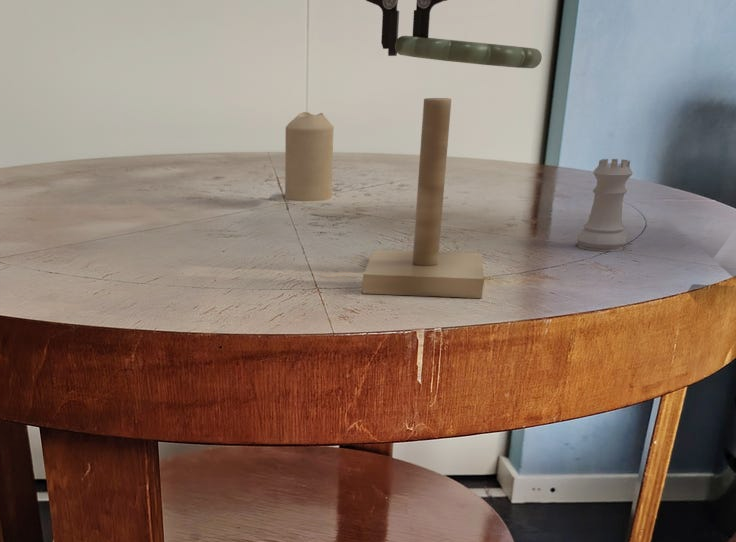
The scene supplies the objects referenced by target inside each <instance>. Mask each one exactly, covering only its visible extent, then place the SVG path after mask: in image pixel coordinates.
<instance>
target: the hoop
mask: <svg viewBox="0 0 736 542" xmlns="http://www.w3.org/2000/svg"><path fill="white" fill-rule="evenodd" d="M412 36H413V35H401V36H398V39H397V40H396V43H395V50H396V52H397V55H399V56H403V57H409V58H410V57H412V58H417V59H425V60H433V61H434V60H435V61H443V62H452V63H463V64H473V65H482V66H493V67H505V68H517V69H535V68H537V67H538V66H539V65H540V64H541V62H542V59H543V57H542V53H541V50H539V49H538V48H533V47H524V46H514V45H506V44H496V43H485V42H476V41H467V40H466V41H465V40H455V39H445V38H435V37H428V38H421V37H412Z"/></svg>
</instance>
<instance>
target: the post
mask: <svg viewBox="0 0 736 542" xmlns="http://www.w3.org/2000/svg"><path fill="white" fill-rule="evenodd" d="M451 109H452V98H448V97H427V98H424V99H423V107H422V121H421V134H420V150H419V164H418V177H417V195H416V206H415V207H416V208H415V219H414V220H415V221H414V235H413V250H386V249H385V250H384V249H382V250H381V249H374V250H373V251H372V253H371V256H370V258H369V260H368V262H367V265H366V268H365V269H364V272H363V274H362V294H365V295H367V294H369V295H392V296H394V295H395V296H417V297H418V296H419V297H441V298H442V297H444V298H462V299H463V298H464V299H465V298H466V299H482V298H483V292H484V281H485V275H484V264H483V254H482V253H478V252H450V251H449V252H447V251H445V252H444V251H440V243H441V231H442V230H441V229H442V219H443V218H442V217H443V206H444V194H445V193H444V192H445V184H446V183H445V182H446V170H447V158H448V147H449V135H450V134H449V133H450V122H451V120H450V119H451Z"/></svg>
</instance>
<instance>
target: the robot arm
mask: <svg viewBox="0 0 736 542" xmlns="http://www.w3.org/2000/svg"><path fill="white" fill-rule="evenodd" d="M365 1H366V2H369V3H371V4H372V5H376V6H378V7H379V8H380V9H381V11H382V17H381V18H382V19H381V20H382V22H381V23H382V24H381V39H380V40H381V41H380V43H381V46H382V49H383V50H387V54H388V55H387V56H388V57H396V56H398V53H397V52H396V50H395V43H396V40H397V39H398V38H399V22H400V21H399V20H400V10H398V4H399V0H365ZM446 1H448V0H416V5H415V7H416V8H415V9H413V22H412V35H411V36H412V37H421V38H429V32H430V20H431V19H430V18H431V11H432V9H433V7H434V6H436V5H438V4H440V3H443V2H446Z"/></svg>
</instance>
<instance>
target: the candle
mask: <svg viewBox="0 0 736 542" xmlns="http://www.w3.org/2000/svg"><path fill="white" fill-rule="evenodd" d="M284 153H285V157H284V158H285V160H284V162H285V165H284V166H285V167H284V168H285V171H284V176H285V177H284V178H285V179H284V181H285V182H284V193H285V194H284V199H286V200H289V201H294V202H321V201H328V200H330V199H332V193H333V191H332V190H333V189H332V188H333V159H334V156H333V155H334V126H333V124H332V123H331V122H330V121H329V119H327V117H326V116H325V114H324V113H323V112H320V113H318V114H312V113H311V112H308V111H304V112H300V113H298V114H297V116H295V117H294V118H293V119H292V120H291V121H290V122H289V123H288V124H287V125H286V126H285V152H284Z"/></svg>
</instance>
